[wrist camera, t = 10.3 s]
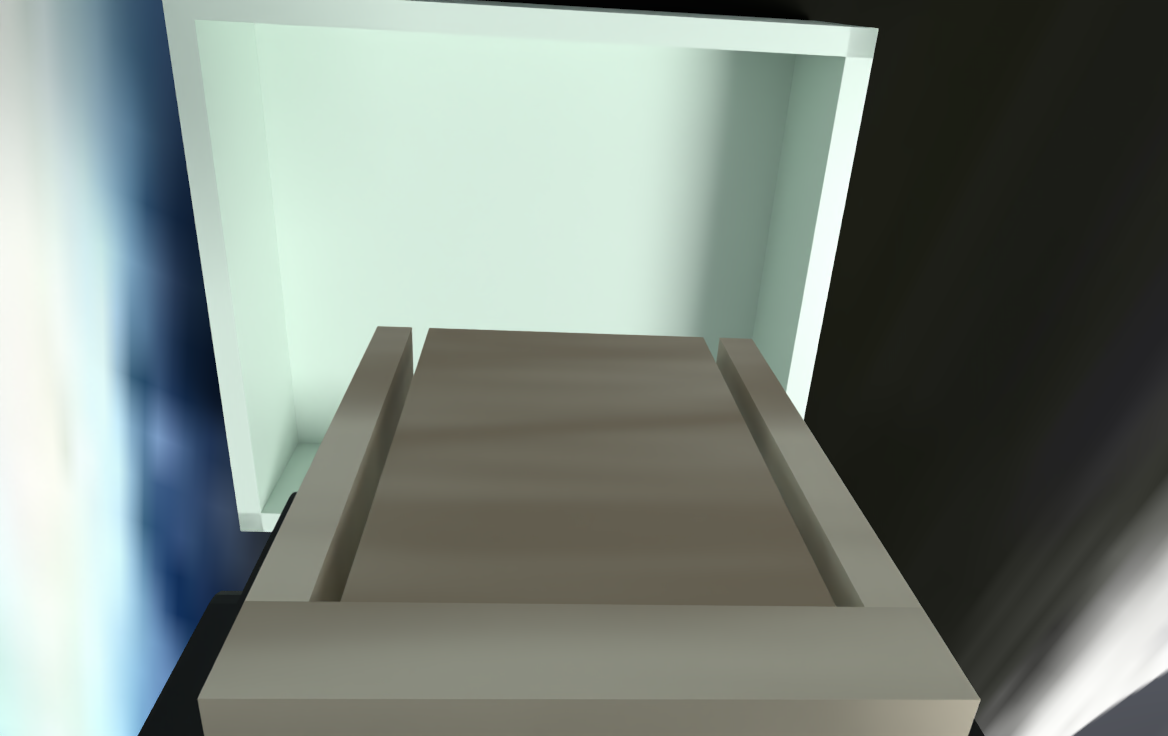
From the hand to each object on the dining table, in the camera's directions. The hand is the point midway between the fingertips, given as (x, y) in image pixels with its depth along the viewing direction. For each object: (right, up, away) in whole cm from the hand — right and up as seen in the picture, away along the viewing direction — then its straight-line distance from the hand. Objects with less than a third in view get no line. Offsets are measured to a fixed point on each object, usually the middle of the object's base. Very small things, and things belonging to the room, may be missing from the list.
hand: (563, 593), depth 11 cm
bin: (-2, +7, +21) cm, 22 cm away
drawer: (0, +1, +2) cm, 3 cm away
